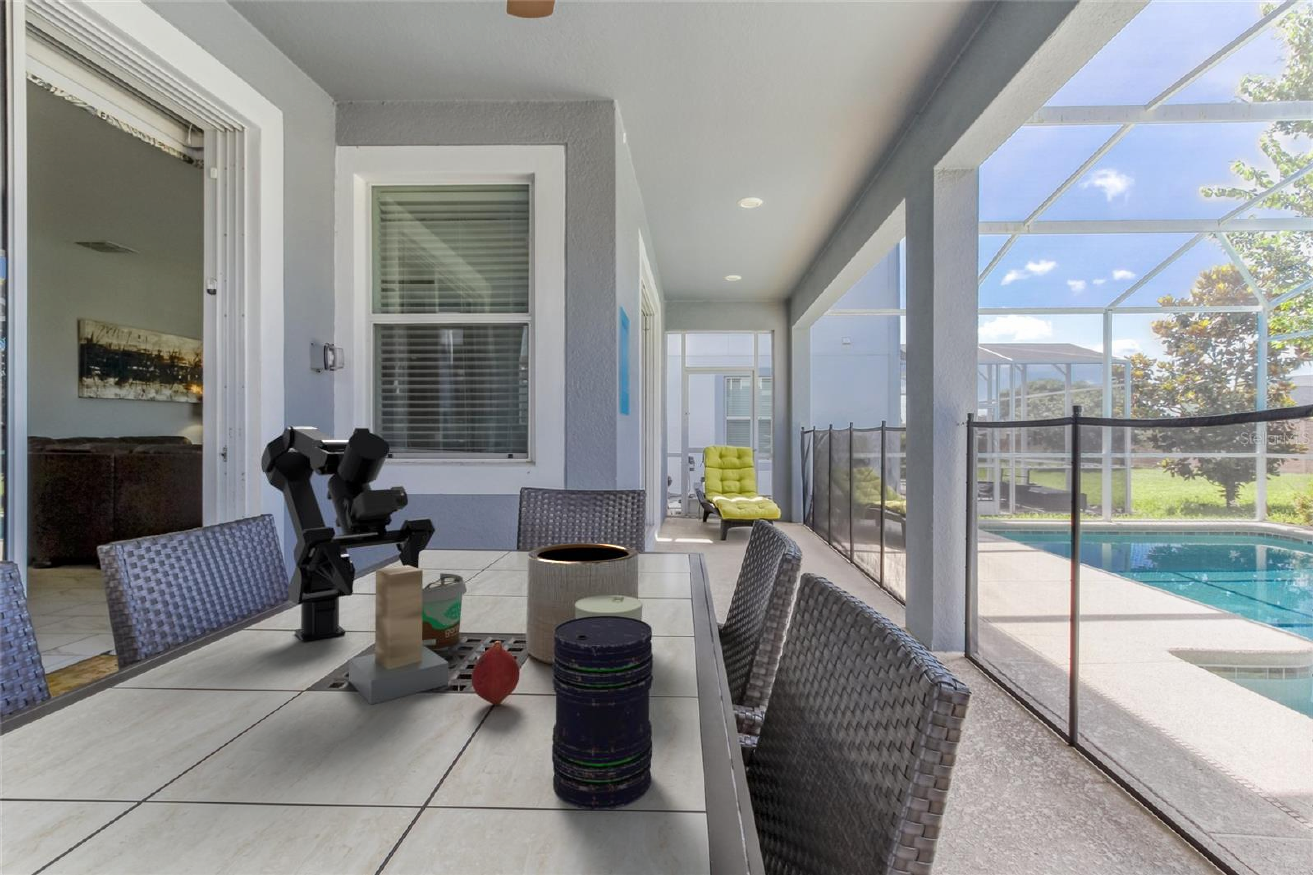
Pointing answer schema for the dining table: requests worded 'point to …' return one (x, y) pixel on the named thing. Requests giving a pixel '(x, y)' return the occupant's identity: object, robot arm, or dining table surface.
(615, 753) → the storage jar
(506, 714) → the dining table surface
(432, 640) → the food container
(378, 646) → the oak block
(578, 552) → the planter
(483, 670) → the onion
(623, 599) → the can
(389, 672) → the plate
